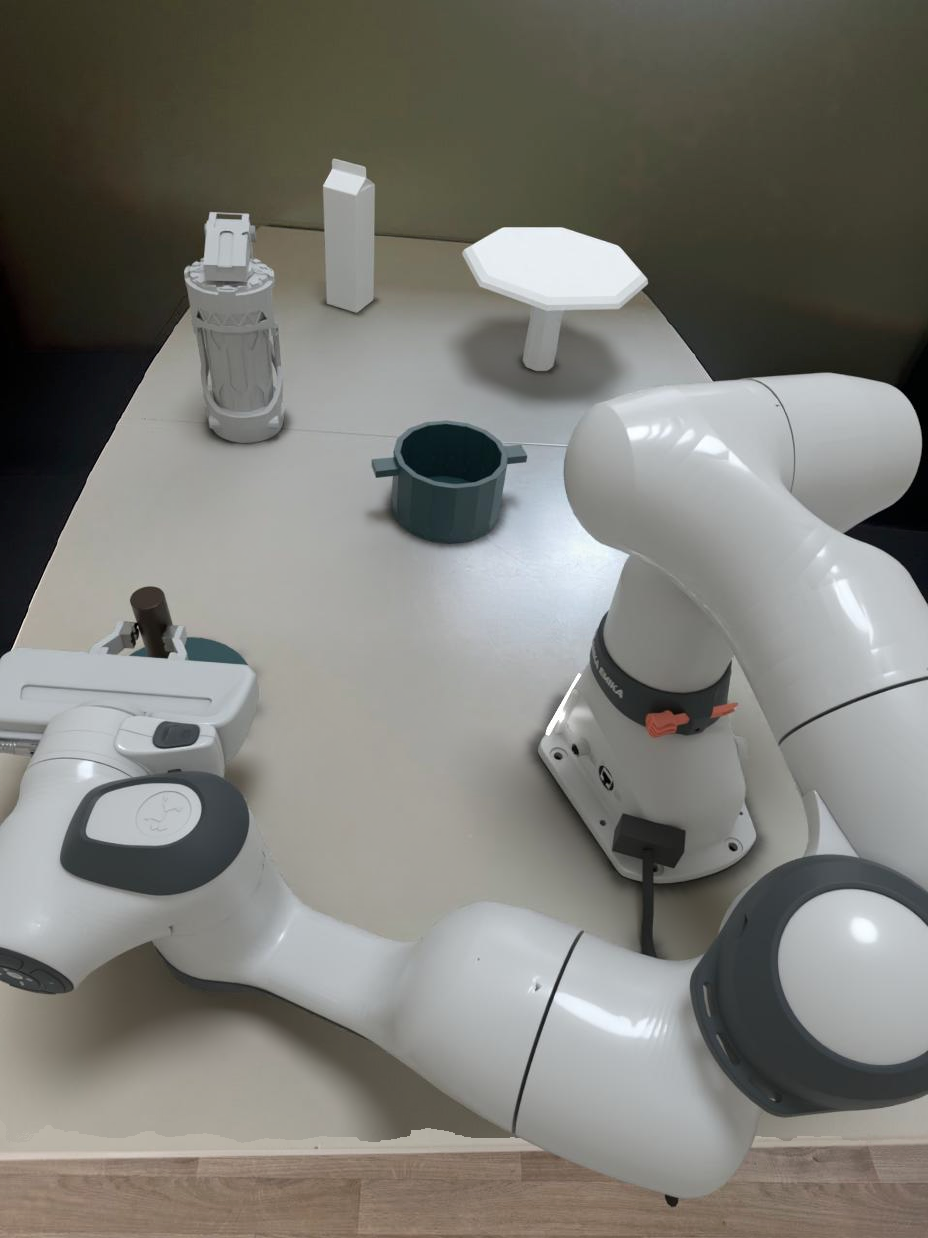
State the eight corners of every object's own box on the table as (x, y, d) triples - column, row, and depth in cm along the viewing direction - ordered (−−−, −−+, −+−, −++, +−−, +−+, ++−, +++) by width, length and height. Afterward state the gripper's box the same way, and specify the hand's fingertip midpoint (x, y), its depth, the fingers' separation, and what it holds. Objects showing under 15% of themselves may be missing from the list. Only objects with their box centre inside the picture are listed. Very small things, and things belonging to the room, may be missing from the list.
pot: (533, 533, 100) (544, 478, 94) (385, 552, 95) (386, 496, 89) (499, 468, 109) (507, 414, 103) (361, 483, 104) (361, 427, 98)
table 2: (621, 424, 119) (650, 317, 107) (437, 393, 121) (446, 284, 108) (624, 336, 139) (650, 238, 127) (466, 311, 140) (476, 210, 128)
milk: (343, 291, 141) (341, 152, 125) (374, 300, 139) (376, 161, 123) (325, 304, 137) (321, 162, 121) (357, 313, 135) (356, 171, 119)
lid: (264, 746, 75) (245, 645, 65) (97, 779, 71) (49, 678, 61) (246, 634, 84) (227, 530, 74) (98, 658, 81) (57, 553, 70)
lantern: (285, 444, 108) (269, 258, 90) (205, 444, 106) (173, 254, 88) (286, 393, 117) (273, 213, 99) (213, 392, 115) (185, 209, 97)
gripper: (-30, 774, 61) (40, 643, 71) (241, 792, 63) (272, 661, 72) (-58, 723, 57) (20, 591, 67) (233, 744, 58) (268, 612, 68)
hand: (153, 628), depth 70 cm, fingers closed on lid, 3 cm apart
